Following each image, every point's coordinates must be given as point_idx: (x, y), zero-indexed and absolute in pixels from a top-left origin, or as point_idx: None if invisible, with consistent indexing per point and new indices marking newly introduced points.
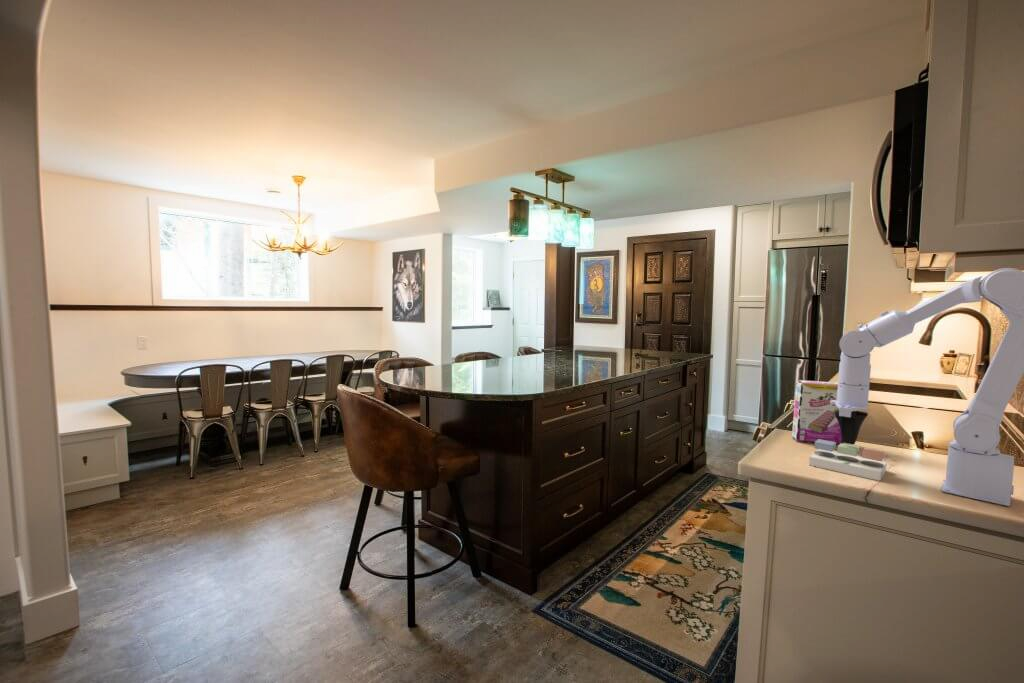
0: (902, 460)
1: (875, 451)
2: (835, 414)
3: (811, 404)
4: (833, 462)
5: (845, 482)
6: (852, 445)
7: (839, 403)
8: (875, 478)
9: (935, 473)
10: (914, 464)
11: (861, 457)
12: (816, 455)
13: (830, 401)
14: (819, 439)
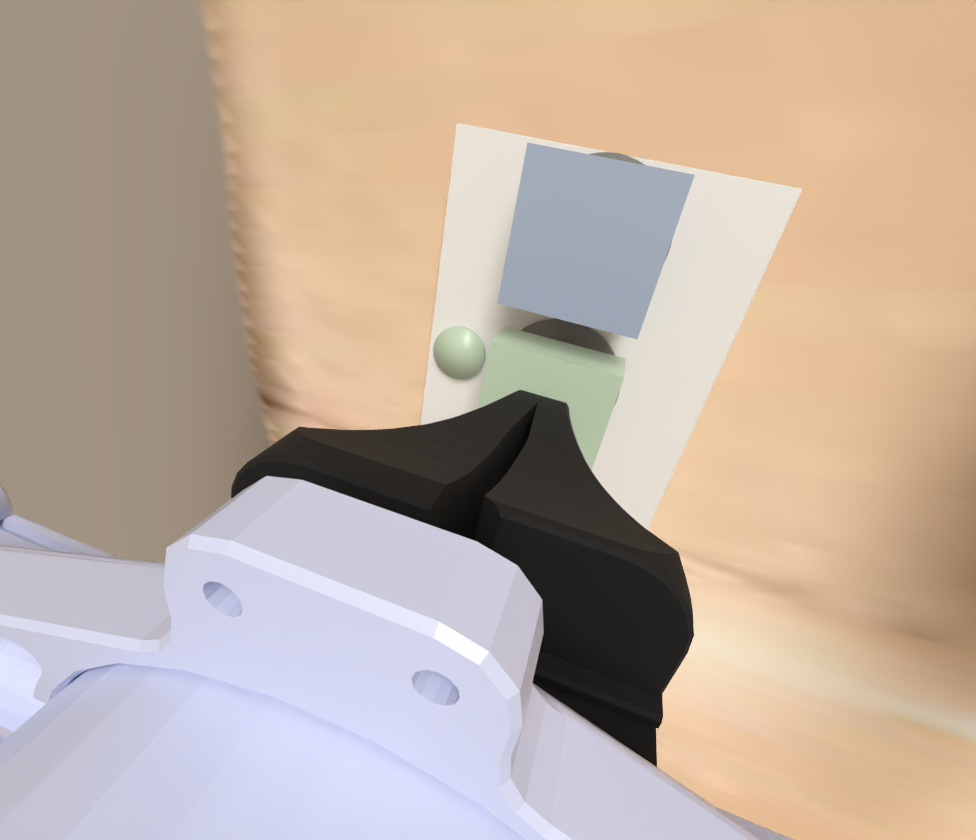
0: (934, 668)
1: None
2: (280, 439)
3: None
4: (438, 289)
5: (304, 326)
6: (593, 449)
7: (46, 659)
8: None
9: (711, 700)
10: (856, 687)
11: (660, 465)
12: None
13: (205, 524)
14: (678, 185)
